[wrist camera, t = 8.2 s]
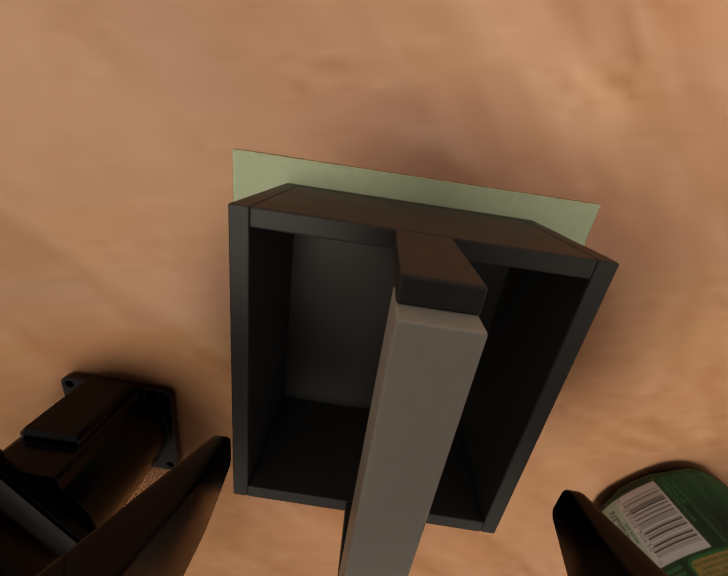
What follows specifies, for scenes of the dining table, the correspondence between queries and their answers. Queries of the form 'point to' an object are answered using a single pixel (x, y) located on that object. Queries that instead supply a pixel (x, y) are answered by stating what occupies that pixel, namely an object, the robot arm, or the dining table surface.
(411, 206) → the bin
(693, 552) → the coffee jar
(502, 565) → the dining table surface
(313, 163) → the mat
